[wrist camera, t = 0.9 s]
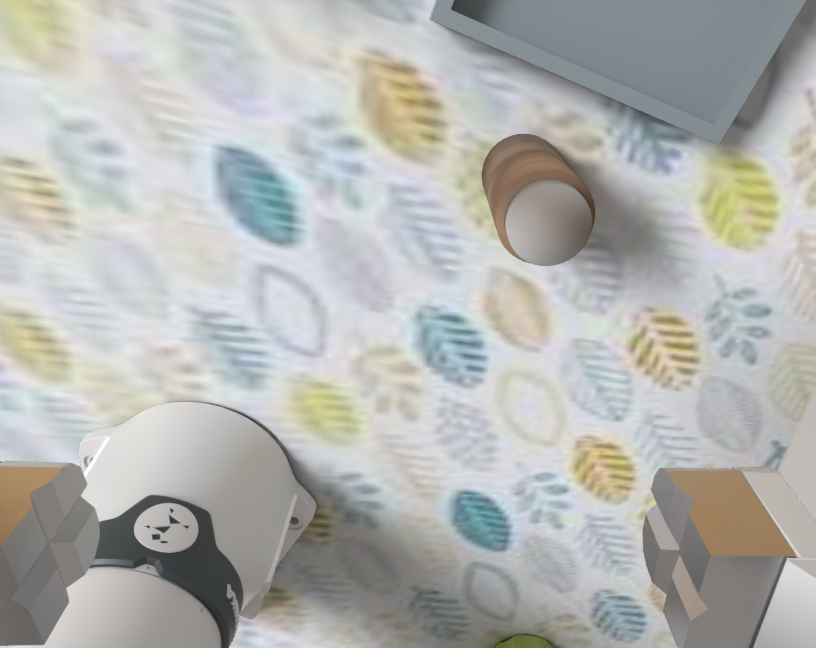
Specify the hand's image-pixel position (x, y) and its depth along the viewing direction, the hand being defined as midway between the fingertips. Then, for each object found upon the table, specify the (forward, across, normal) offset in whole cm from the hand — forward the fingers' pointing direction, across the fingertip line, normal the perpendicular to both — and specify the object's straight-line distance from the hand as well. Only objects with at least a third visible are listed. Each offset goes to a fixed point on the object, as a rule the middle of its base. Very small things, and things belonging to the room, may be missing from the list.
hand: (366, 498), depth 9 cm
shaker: (+32, -7, +4) cm, 33 cm away
